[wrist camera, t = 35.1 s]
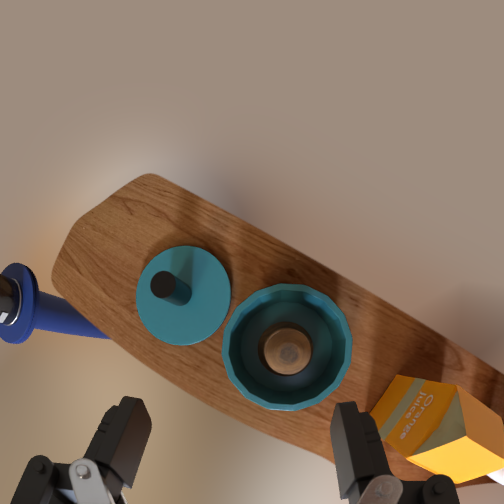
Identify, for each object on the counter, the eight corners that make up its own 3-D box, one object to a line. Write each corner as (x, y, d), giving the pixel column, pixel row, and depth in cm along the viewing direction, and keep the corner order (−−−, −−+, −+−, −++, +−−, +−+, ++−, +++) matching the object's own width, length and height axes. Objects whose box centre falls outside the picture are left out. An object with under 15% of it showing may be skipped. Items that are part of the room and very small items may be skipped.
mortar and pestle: (322, 352, 33) (361, 358, 16) (281, 385, 32) (279, 423, 15) (289, 312, 35) (295, 280, 18) (247, 344, 34) (214, 343, 17)
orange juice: (406, 447, 28) (486, 503, 9) (362, 421, 30) (432, 482, 11) (438, 401, 29) (537, 423, 10) (397, 372, 31) (493, 386, 13)
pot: (307, 411, 31) (314, 429, 23) (218, 367, 34) (200, 372, 26) (352, 323, 34) (372, 316, 26) (264, 281, 37) (259, 262, 29)
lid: (201, 364, 35) (183, 367, 28) (124, 313, 38) (96, 305, 31) (250, 274, 38) (243, 258, 31) (169, 233, 41) (149, 212, 34)
